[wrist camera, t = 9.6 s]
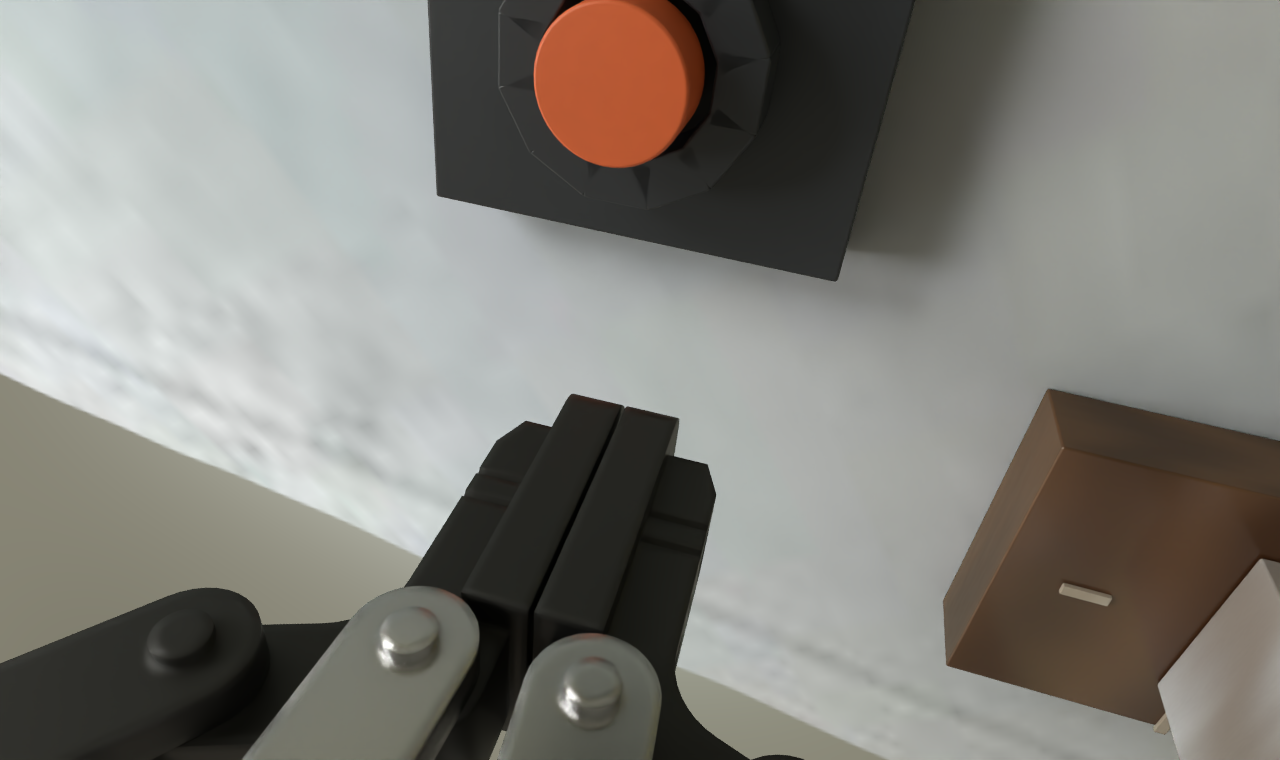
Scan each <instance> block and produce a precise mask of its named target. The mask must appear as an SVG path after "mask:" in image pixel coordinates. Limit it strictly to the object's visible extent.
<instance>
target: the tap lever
mask: <svg viewBox="0 0 1280 760" xmlns="http://www.w3.org/2000/svg"><path fill="white" fill-rule="evenodd" d="M1158 688H1159V692H1160V695H1161V698H1162V702H1163V705H1164V709H1165V712H1166V715H1167V719H1168V722H1169V725H1170V729H1171V732H1172V736H1173V739H1174V742H1175V746H1176V749H1177V753H1178V756H1179V759H1180V760H1280V563H1278V562H1274V561H1270V560H1266V559H1260V560H1259V561H1258V562H1257V563H1256V565H1255V566H1254V567H1253V568H1252V569H1251V571H1250V572H1249V573H1248V574H1247V576H1246V577H1245V578H1244V579H1243V580H1242V582H1241V583H1240V584H1239V585H1238V587H1237V588H1236V589H1235V590H1234V591H1233V593H1232V594H1231V595H1230V596H1229V598H1228V599H1227V600H1226V601H1225V602H1224V604H1223V605H1222V606H1221V607H1220V609H1219V610H1218V611H1217V612H1216V613H1215V615H1214V616H1213V617H1212V618H1211V620H1210V621H1209V622H1208V623H1207V624H1206V626H1205V627H1204V628H1203V629H1202V631H1201V632H1200V633H1199V634H1198V636H1197V637H1196V638H1195V639H1194V640H1193V642H1192V643H1191V644H1190V645H1189V647H1188V648H1187V649H1186V650H1185V651H1184V653H1183V654H1182V655H1181V656H1180V658H1179V659H1178V660H1177V661H1176V662H1175V664H1174V665H1173V666H1172V667H1171V669H1170V670H1169V671H1168V672H1167V673H1166V675H1165V676H1164V677H1163V678H1162V680H1161V681H1160V682H1159V683H1158Z"/></svg>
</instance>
